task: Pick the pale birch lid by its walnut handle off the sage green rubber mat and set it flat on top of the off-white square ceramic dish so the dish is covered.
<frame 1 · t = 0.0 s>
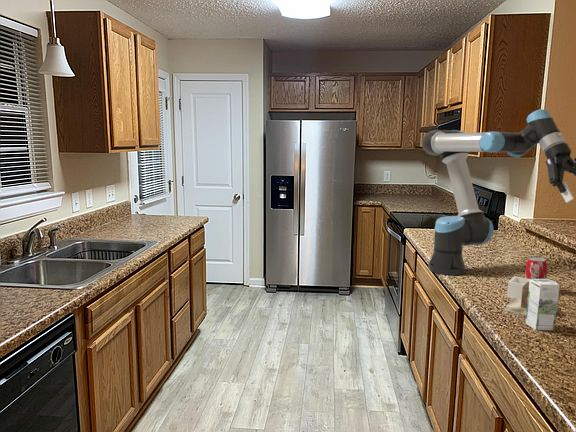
soda can: (534, 290, 170), on the worktop
dish: (523, 297, 160), on the worktop
syrup box: (539, 328, 133), on the worktop
lid: (527, 308, 148), resting on mat
mat: (527, 310, 148), on the worktop
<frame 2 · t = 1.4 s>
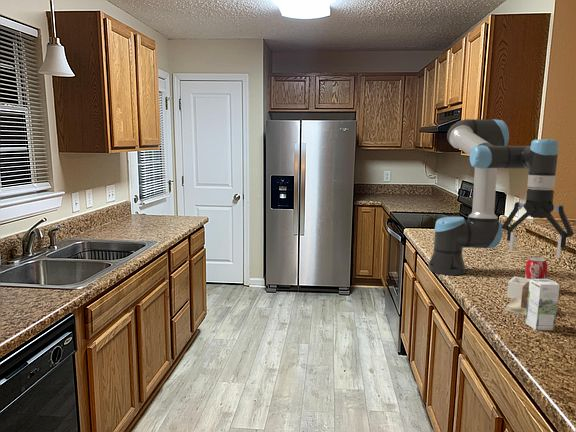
hand: (534, 254, 145), 19 cm above the worktop, tool pointing down, fingers open, 13 cm apart
nothing on the worktop moved.
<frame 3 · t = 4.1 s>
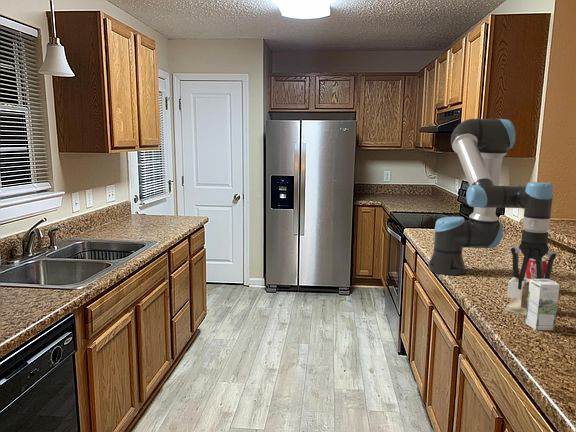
hand: (528, 300, 147), 3 cm above the worktop, tool pointing down, fingers closed on lid, 3 cm apart
lid: (527, 308, 148), resting on mat, touching gripper
everything else where it was.
when the fingers open (10 cm above the worktop, at t = 8.3 s): lid drops 1 cm, resting on dish.
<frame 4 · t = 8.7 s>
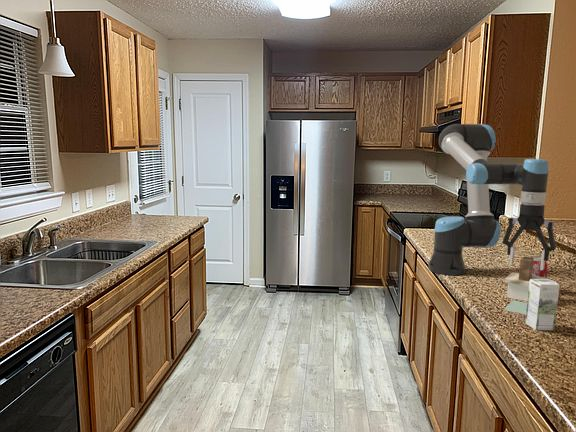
hand: (526, 266, 158), 11 cm above the worktop, tool pointing down, fingers open, 9 cm apart
lid: (524, 281, 159), point 6 cm above the worktop, touching dish
everything else where it was.
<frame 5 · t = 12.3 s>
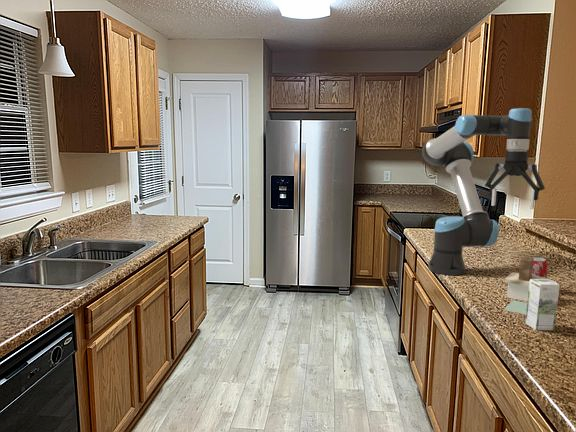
hand: (512, 207, 170), 31 cm above the worktop, tool pointing down, fingers open, 13 cm apart
nothing on the worktop moved.
at the end: lid 0.0 cm off-centre on the dish, point 6.0 cm above the dish's base; lid tilted 0°; the gripper is holding nothing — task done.
